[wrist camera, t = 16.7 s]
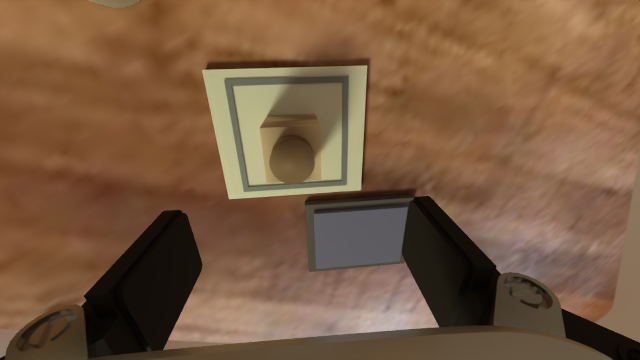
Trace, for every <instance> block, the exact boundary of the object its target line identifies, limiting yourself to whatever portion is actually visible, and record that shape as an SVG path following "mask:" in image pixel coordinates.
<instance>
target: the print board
mask: <svg viewBox="0 0 640 360" xmlns="http://www.w3.org/2000/svg"><path fill="white" fill-rule="evenodd" d="M202 72H203V76H204V81H205V86H206V91H207V96H208V100H209V105H210V110H211V115H212V120H213V124H214V129H215V134H216V139H217V144H218V148H219V153H220V158H221V163H222V167H223V172H224V177H225V182H226V187H227V191H228V196H229V199H238V198H252V197H267V196H282V195H296V194H311V193H326V192H340V191H355V190H361V179H362V159H363V140H364V120H365V100H366V80H367V65H364V66H328V67H291V68H255V69H219V70H202ZM294 114H315V115H316V117H317V119H318V121H319V124H320V130H321V177H322V180H311V181H303V182H300V183H297V184H288V183H284V182H277V183H267V182H266V174H265V166H264V158H263V150H262V142H261V134H260V127H261V125H262V123H263V122H264V120H265V118H266V117H267V116H268V115H294Z"/></svg>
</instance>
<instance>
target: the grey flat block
mask: <svg viewBox="0 0 640 360" xmlns="http://www.w3.org/2000/svg"><path fill="white" fill-rule="evenodd" d="M413 199H414V197H413V196H412V195H411V194H403V195H389V196H375V197H360V198H346V199H332V200H318V201H305V210H306V227H307V244H308V260H309V272H314V271H325V270H336V269H346V268H357V267H368V266H379V265H389V264H400V263H404V261H405V260H404V258H403V255H402V244H403V238H404V232H405V225H406V219H407V213H408V207H409V202H410V201H411V200H413Z"/></svg>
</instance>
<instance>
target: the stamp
mask: <svg viewBox="0 0 640 360" xmlns="http://www.w3.org/2000/svg"><path fill="white" fill-rule="evenodd" d="M260 134H261V142H262V150H263V158H264V166H265V174H266V182H267V183H277V182H284V183H288V184H297V183H300V182H303V181H311V180H322V177H321V130H320V124H319V121H318V119H317V117H316V115H315V114H294V115H268V116H267V117H266V118H265V120H264V122H263V123H262V125H261V127H260Z"/></svg>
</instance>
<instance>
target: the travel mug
mask: <svg viewBox="0 0 640 360" xmlns="http://www.w3.org/2000/svg"><path fill="white" fill-rule="evenodd" d="M89 1H92V2H95V3H98V4H101V5H104V6H108V7H114V8H122V7H128V6H131V5H133V4H135V3H137V2H139V1H140V0H89Z"/></svg>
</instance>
